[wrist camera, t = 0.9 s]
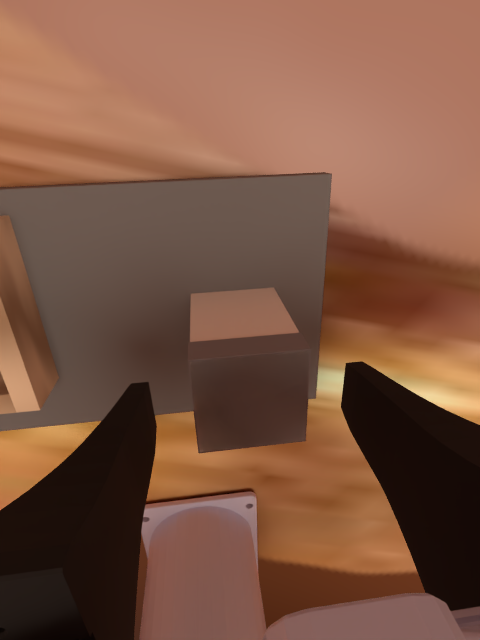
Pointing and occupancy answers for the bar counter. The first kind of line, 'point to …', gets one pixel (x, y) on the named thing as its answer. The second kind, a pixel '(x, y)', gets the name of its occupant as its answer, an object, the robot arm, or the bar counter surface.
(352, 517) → the bar counter surface
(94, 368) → the mat
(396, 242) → the bar counter surface
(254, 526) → the robot arm
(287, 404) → the plug
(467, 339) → the bar counter surface
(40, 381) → the frame
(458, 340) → the bar counter surface
